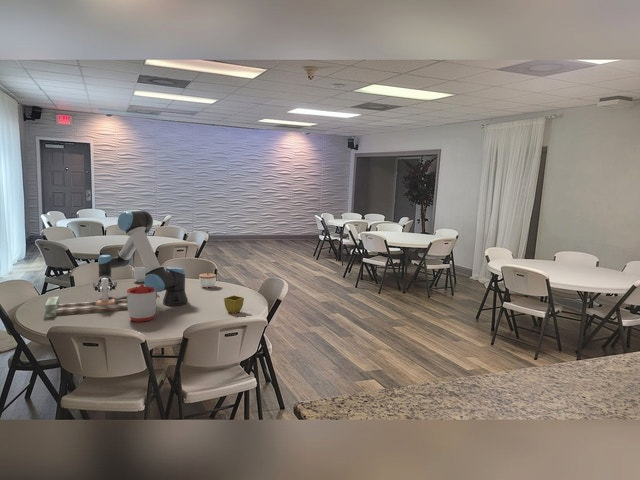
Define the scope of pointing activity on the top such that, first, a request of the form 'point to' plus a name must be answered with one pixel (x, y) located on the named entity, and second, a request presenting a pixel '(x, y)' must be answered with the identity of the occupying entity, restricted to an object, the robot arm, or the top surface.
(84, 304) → the rail
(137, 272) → the teacup
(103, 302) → the carriage
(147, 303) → the citrus juicer
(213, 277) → the lidded bowl
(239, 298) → the flower pot
